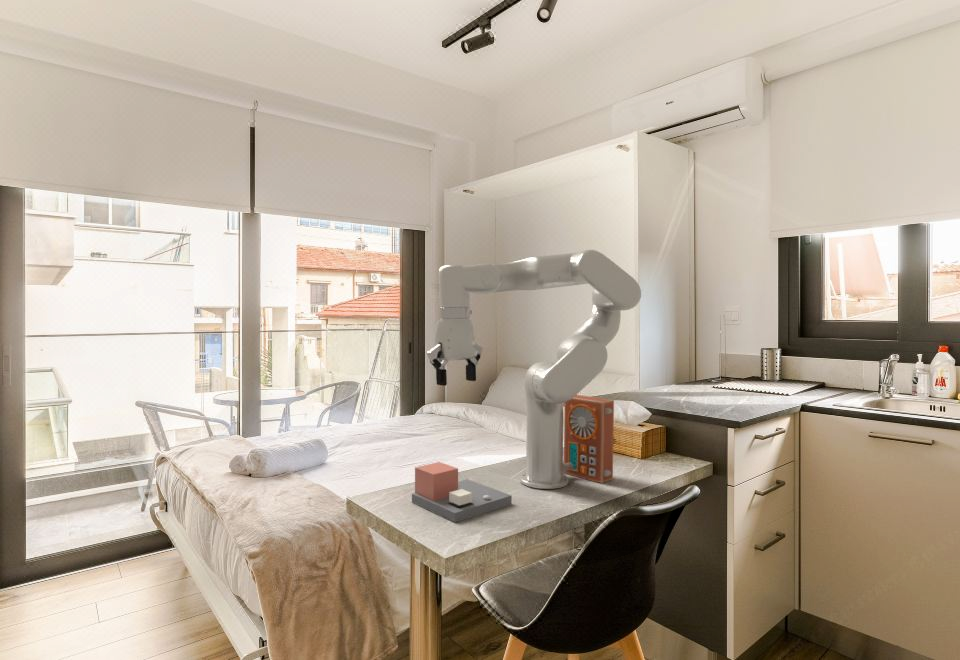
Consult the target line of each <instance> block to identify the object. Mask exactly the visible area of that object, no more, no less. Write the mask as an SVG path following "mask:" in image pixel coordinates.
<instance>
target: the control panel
mask: <svg viewBox="0 0 960 660" xmlns="http://www.w3.org/2000/svg"><path fill="white" fill-rule="evenodd" d="M562 405H563V463H568V462H571V463H572V464H573V469H570V470H566V472H565V475H568V476H573V477H578V478H581V479H584V480H588V481H592V482H594V483H595V482H596V483H600V484H604V483H606V482H608V481H611V480H613V479H614V477H613V476H614V471H613V470H614V429H615V428H614V425H615V424H614V423H615V421H614V418H615V417H614V415H615V414H614V413H615V412H614V411H615V400H614V399H609V398H604V397H603V398H601V397H594V396H587V395H582V394H581V395H580V394H577V395H576V396H574V397H573V398H572V399H570V400H569V401H567V402H565V403H562Z"/></svg>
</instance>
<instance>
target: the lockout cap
mask: <svg viewBox="0 0 960 660" xmlns="http://www.w3.org/2000/svg"><path fill="white" fill-rule="evenodd" d="M458 482H459V468H458V467H455V466H453V465H449V464H446V463H444V462H440V461H437V462H433V463H429V464H424V465H420V466H415V467H414V493H417V494H419V495H421V496H423V497H426V498H428V499H430V500H432V501H435V500H438V499H442V498H445V497H449V492H452V491H456V490H458Z"/></svg>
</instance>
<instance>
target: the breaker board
mask: <svg viewBox="0 0 960 660" xmlns="http://www.w3.org/2000/svg"><path fill="white" fill-rule="evenodd" d="M460 489H463V490H466V491H468V492H471V493H472V502H470V503H467V504H463V505H460V506H459V505H457V504H455V503H452V502H450V501H449V497H445V498H442V499H438V500H435V501H432V500H430V499H428V498H426V497H423V496H421V495H419V494H417V493H415V492H413V493H411V503H413V504H415V505H417V506H419V507H422V508H423V509H425V510H428V511H430V512H433V513H434V514H435V515H438V516H440V517H442V518H445V519H447V520H449V521H451V522H453V523H457V522H461V521H463V520H467V519H469V518H473V517H475V516H479V515H482V514H485V513H488V512H491V511H495V510H497V509H500V508H503V507H504V508H505V507H507V506H510V505H512V501H513V500H512V497H513V496H512V494H509V493H506V492H503V491H500V490H498V489H496V488H493V487H490V486H487V485H485V484H482V483H479V482H476V481H473V480H472V479H468V478H466V479H462V480H458V490H460Z"/></svg>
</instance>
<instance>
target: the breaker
mask: <svg viewBox="0 0 960 660" xmlns="http://www.w3.org/2000/svg"><path fill="white" fill-rule="evenodd" d="M449 501H450V502H452V503H455V504H457V505H459V506H460V505H463V504H467V503H470V502H472V493H471V492H468V491H466V490H463V489H460V490H456V491H452V492H449Z"/></svg>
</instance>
